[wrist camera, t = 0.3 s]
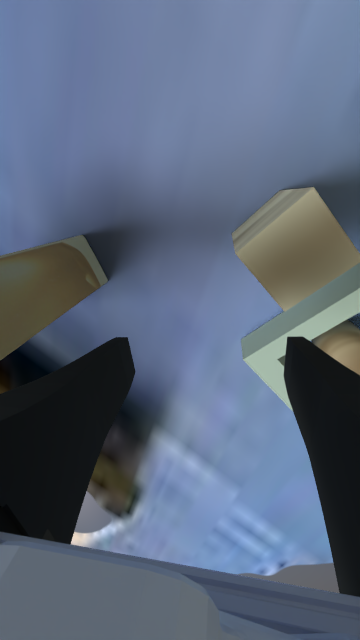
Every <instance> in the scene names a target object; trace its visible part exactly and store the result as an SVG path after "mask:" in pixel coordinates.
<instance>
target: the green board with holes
mask: <svg viewBox="0 0 360 640" xmlns="http://www.w3.org/2000/svg"><path fill="white" fill-rule="evenodd" d="M359 312H360V263H358V264H357V265H355V266H354V267H352V268H351V269H349V270H348V271H346V272H345V273H343V274H342V275H340V276H339V277H337V278H336V279H334V280H333V281H331V282H329V283H328V284H326V285H325V286H323V287H322V288H320V289H319V290H317V291H316V292H314V293H313V294H311V295H310V296H308V297H307V298H305V299H304V300H302V301H301V302H299V303H297V304H296V305H294V306H293V307H291V308H290V309H288V310H287V311H285V312H282V313H281V314H279V315H278V316H276V317H275V318H273V319H271V320H270V321H268V322H267V323H265V324H264V325H262V326H261V327H259V328H258V329H256V330H255V331H253V332H252V333H250V334H249V335H247V336H246V337H244V338H243V339H241V345H242V354H243V360H244V361H245V362H246V363H247V364H248V365H249V366H250V367H251V368H252V369H253V370H254V372H255V373H256V374H257V375H258V376H259V377H260V378H261V379H262V380H263V381H264V382H265V383H266V384H267V385H268V386H269V387H270V388H271V389H272V390H273V391H274V392H275V393H276V394H277V395H278V396H279V398H280V399H281V400H282V401H283V402H284V403H285V404H286V405H287V406H288V407H289V408H290V409H291V410H292V411H293V409H292V406H291V404H290V401H289V398H288V394H287V390H286V385H285V381H284V376H283V375H284V365H285V354H286V344H287V337H297V336H303V337H304V338H306V339H308V340H309V341H310V340H312V339H314V338H315V337H317V336H319V335H321V334H322V333H324V332H326V331H328V330H329V329H331V328H333V327H335V326H336V325H338V324H340V323H342V322H343V321H345V320H347V319H349V318H350V317H352V316H354V315H356V314H357V313H359Z"/></svg>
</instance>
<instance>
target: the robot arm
mask: <svg viewBox="0 0 360 640" xmlns="http://www.w3.org/2000/svg"><path fill="white" fill-rule="evenodd" d="M134 375H135V368H134V363H133V359H132V355H131V350H130V346H129V341H128V337H116V338H114V339H111V340H109V341H108V342H106V343H104V344H102V345H101V346H99V347H97V348H96V349H94V350H92V351H91V352H89V353H87V354H86V355H84V356H82V357H80V358H79V359H77V360H75V361H73V362H71V363H70V364H68V365H66V366H64V367H62V368H61V369H59V370H57V371H55V372H53V373H51V374H48V375H46V376H44V377H42V378H40V379H38V380H35V381H33V382H31V383H28V384H25V385H23V386H20V387H18V388H15V389H13V390H10V391H7V392H5V393H2V394H0V640H360V375H358V374H357V373H355V372H354V371H352V370H350V369H349V368H347V367H346V366H344V365H343V364H341V363H340V362H338V361H337V360H335V359H334V358H332V357H331V356H330V355H328V354H327V353H325V352H324V351H323V350H321V349H320V348H319V347H317V346H316V345H314V344H313V343H312V342H310V341H309V340H308V339H306V338H304V337H303V336H297V337H287V344H286V354H285V365H284V375H283V376H284V381H285V385H286V390H287V394H288V398H289V401H290V404H291V406H292V409H293V412H294V415H295V418H296V420H297V423H298V426H299V429H300V431H301V434H302V437H303V439H304V442H305V445H306V448H307V451H308V454H309V458H310V462H311V466H312V470H313V474H314V477H315V481H316V485H317V490H318V494H319V498H320V502H321V507H322V511H323V515H324V520H325V524H326V529H327V534H328V538H329V543H330V547H331V552H332V557H333V562H334V567H335V571H336V576H337V582H338V587H339V592H340V593H334V592H329V591H324V590H317V589H312V588H307V587H302V586H296V585H290V584H284V583H279V582H274V581H268V580H263V579H257V578H252V577H246V576H241V575H235V574H230V573H224V572H219V571H213V570H208V569H202V568H197V567H191V566H186V565H180V564H175V563H169V562H164V561H158V560H153V559H147V558H142V557H136V556H131V555H125V554H120V553H114V552H109V551H103V550H98V549H92V548H87V547H81V546H76V545H70V544H71V541H72V537H73V534H74V530H75V526H76V523H77V519H78V516H79V513H80V510H81V506H82V503H83V500H84V497H85V494H86V491H87V488H88V485H89V482H90V479H91V476H92V473H93V470H94V467H95V465H96V462H97V459H98V456H99V454H100V451H101V449H102V446H103V443H104V441H105V438H106V436H107V434H108V432H109V430H110V428H111V426H112V424H113V422H114V420H115V418H116V416H117V414H118V412H119V410H120V408H121V406H122V404H123V402H124V400H125V398H126V396H127V394H128V392H129V390H130V387H131V384H132V381H133V378H134Z"/></svg>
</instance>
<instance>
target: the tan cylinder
mask: <svg viewBox="0 0 360 640" xmlns="http://www.w3.org/2000/svg"><path fill="white" fill-rule="evenodd" d="M312 343H313V344H314V345H316V346H317V347H319V348H320V349H321V350H323V351H324V352H325V353H327V354H328V355H330V356H331V357H332V358H334V359H335V360H337V361H338V362H340V363H341V364H343V365H344V366H346V367H347V368H349V369H350V370H352V371H354V372H355V373H357V374H358V375H360V330H359V329H358V328H357V327H356V326H355V325H354V324H353V323H352V322H350V321H348V320H345V321H343V322H342V323H340V324H338V325H336V326H335V327H333V328H331V329H329V330H328V331H326V332H324V333H322V334H321V335H319V336H317V337H315V338H314V339H312Z"/></svg>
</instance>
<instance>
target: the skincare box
mask: <svg viewBox="0 0 360 640" xmlns="http://www.w3.org/2000/svg"><path fill="white" fill-rule="evenodd" d="M107 282H108V279H107V277H106V276H105V274H104V272H103V270H102V268H101V266H100V264H99V262H98V260H97V258H96V256H95V255H94V253H93V251H92V249H91V247H90V246H89V244H88V242H87V240H86V239H85V237H84V236H83V235H79V236H75V237H71V238H68V239H64V240H60V241H56V242H52V243H48V244H44V245H40V246H37V247H33V248H29V249H25V250H21V251H17V252H13V253H9V254H6V255H2V256H0V360H2V359H3V358H4V357H6V356H7V355H8V354H10V353H11V352H12V351H14V350H15V349H17V348H18V347H19V346H21V345H22V344H23V343H25V342H26V341H27V340H29V339H30V338H32V337H33V336H34V335H36V334H37V333H38V332H40V331H41V330H42V329H44V328H45V327H46V326H48V325H49V324H50V323H52V322H53V321H55V320H56V319H57V318H59V317H60V316H61V315H63V314H64V313H65V312H67V311H68V310H69V309H71V308H72V307H74V306H75V305H76V304H78V303H79V302H80V301H82V300H83V299H84V298H86V297H87V296H89V295H90V294H91V293H93V292H94V291H96V290H97V289H98V288H100V287H101V286H102V285H104V284H105V283H107Z"/></svg>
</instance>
